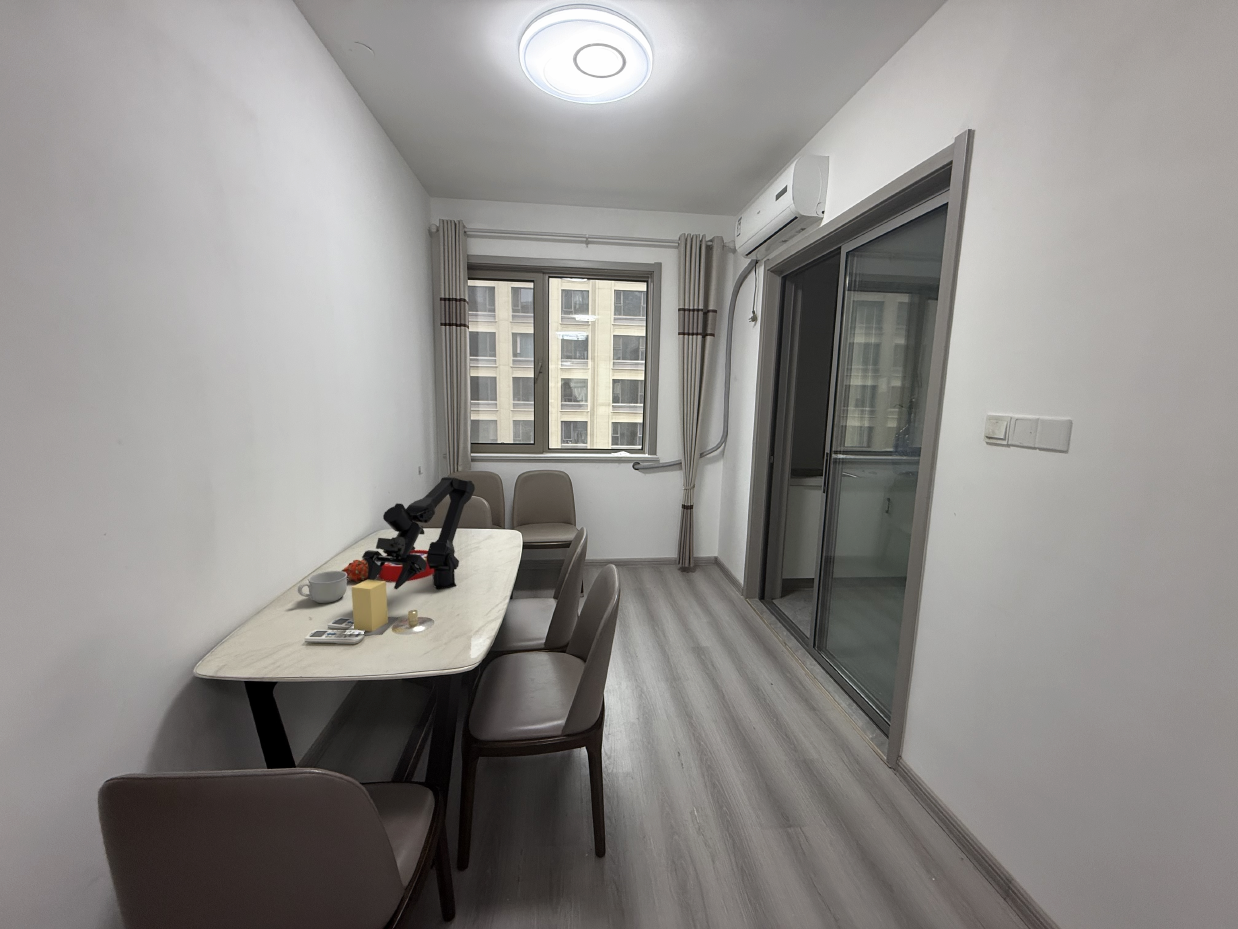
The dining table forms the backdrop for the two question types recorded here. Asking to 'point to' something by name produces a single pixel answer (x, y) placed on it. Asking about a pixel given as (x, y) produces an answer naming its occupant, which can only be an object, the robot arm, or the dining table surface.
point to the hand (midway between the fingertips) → (381, 587)
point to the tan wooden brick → (369, 605)
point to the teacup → (325, 586)
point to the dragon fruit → (357, 571)
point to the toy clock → (394, 570)
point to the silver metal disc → (413, 624)
